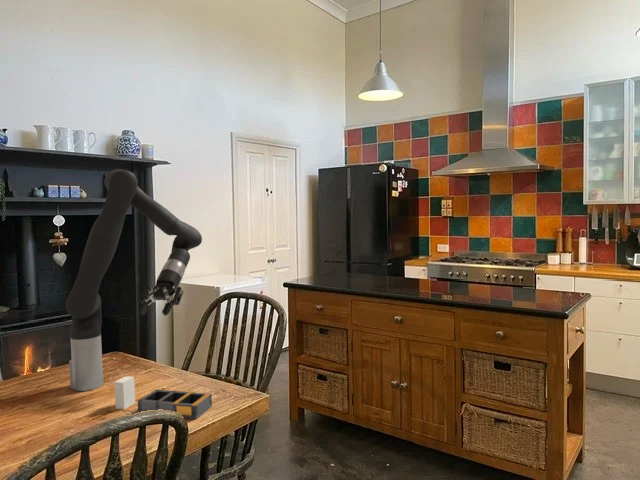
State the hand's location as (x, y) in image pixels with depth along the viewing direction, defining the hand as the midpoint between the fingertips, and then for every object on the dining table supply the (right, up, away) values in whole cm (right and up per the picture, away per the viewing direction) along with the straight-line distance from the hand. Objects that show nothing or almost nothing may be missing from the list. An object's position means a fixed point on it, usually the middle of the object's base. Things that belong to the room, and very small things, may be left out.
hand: (153, 313), depth 155 cm
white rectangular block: (-3, -25, -14) cm, 29 cm away
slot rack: (+13, -25, -18) cm, 34 cm away
